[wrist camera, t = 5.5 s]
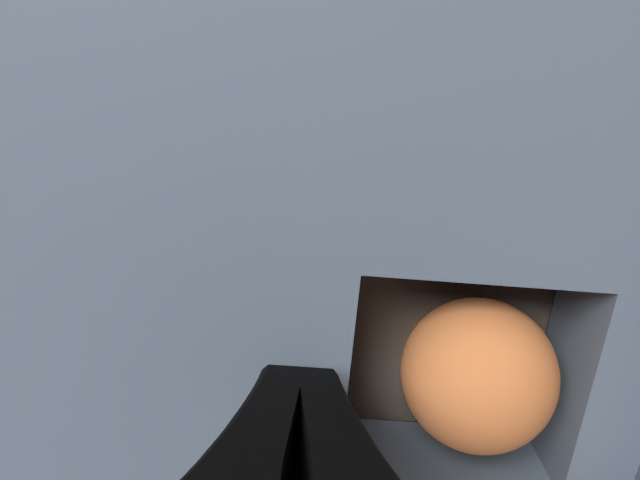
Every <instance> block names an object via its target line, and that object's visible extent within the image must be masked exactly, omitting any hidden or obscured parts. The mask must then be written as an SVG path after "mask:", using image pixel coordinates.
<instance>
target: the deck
mask: <svg viewBox="0 0 640 480" xmlns="http://www.w3.org/2000/svg"><path fill="white" fill-rule="evenodd" d="M361 276H373V277H387V278H401V279H415V280H429V281H442V282H456V283H470V284H484V285H498V286H511V287H525V288H539V289H553V290H556V293H555V297H554V302H553V306H552V310H551V314H550V318H549V322H548V327H547V331H546V336H547V337H548V339H549V341H550V342H551V344H552V346H553V348H554V351H555V354H556V357H557V360H558V364H559V368H560V377H561V384H560V395H559V399H558V403H557V406H556V409H555V411H554V413H553V415H552V417H551V419H550V421H549V422H548V424H547V425H546V426H545V428H544V429H543V430H542V431H541V432H540V433H539V434H538V435H537V436H536V437H535V438H534V439H533V440H532V441H530V442H529V443H527V444H526V445H524V446H522V447H520V448H518V449H516V450H513V451H510V452H507V453H504V454H498V455H473V454H467V453H464V452H460V451H457V450H455V449H453V448H450V447H448V446H446V445H444V444H443V443H441V442H439V441H438V440H436V439H435V438H434V437H433V436H431V435H430V434H429V433H428V432H427V431H426V430H425V429H424V428H423V427H422V426H421V425H420V424H419V423H418V422H405V421H390V420H374V419H360V420H361V422H362V423H363V425H364V426H365V428H366V430H367V431H368V433H369V435H370V436H371V438H372V439H373V441H374V443H375V444H376V446H377V447H378V449H379V450H380V452H381V453H382V455H383V456H384V458H385V459H386V460H387V462H388V463H389V464H390V466H391V467H392V469H393V470H394V471H395V473H396V474H397V475H398V477H399V478H400V479H401V480H640V0H0V480H180V479H181V478H182V477H183V476H184V475H185V474H186V473H187V472H188V471H189V470H190V469H191V467H192V466H193V465H194V464H195V463H196V462H197V461H198V460H199V459H200V458H201V456H202V455H203V454H204V453H205V452H206V450H207V449H208V448H209V447H210V446H211V445H212V443H213V442H214V441H215V440H216V439H217V437H218V436H219V435H220V434H221V433H222V431H223V430H224V429H225V427H226V426H227V425H228V423H229V422H230V421H231V419H232V418H233V416H234V415H235V414H236V412H237V411H238V410H239V408H240V407H241V405H242V404H243V402H244V401H245V399H246V398H247V396H248V395H249V393H250V392H251V390H252V388H253V387H254V385H255V383H256V381H257V379H258V377H259V375H260V373H261V371H262V369H263V368H264V367H266V366H267V365H268V364H270V365H285V366H300V367H315V368H330V369H334V370H335V372H336V373H337V374H338V376H339V378H340V381H341V383H342V385H343V388H344V390H345V392H346V394H348V385H349V376H350V367H351V359H352V350H353V341H354V332H355V324H356V315H357V306H358V297H359V289H360V280H361Z"/></svg>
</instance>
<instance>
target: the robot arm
mask: <svg viewBox="0 0 640 480" xmlns="http://www.w3.org/2000/svg"><path fill="white" fill-rule="evenodd" d="M180 480H401V479H400V478H399V477H398V475H397V474H396V473H395V471H394V470H393V469H392V467H391V466H390V464H389V463H388V462H387V460H386V459H385V458H384V456H383V455H382V453H381V452H380V450H379V449H378V447H377V446H376V444H375V443H374V441H373V439H372V438H371V436H370V435H369V433H368V431H367V430H366V428H365V426H364V425H363V423H362V422H361V420H360V418H359V416H358V415H357V413H356V411H355V409H354V407H353V406H352V404H351V402H350V400H349V398H348V396H347V394H346V392H345V390H344V388H343V385H342V383H341V381H340V378H339V376H338V374H337V373H336V372H335V370H334V369H330V368H315V367H300V366H285V365H270V364H268V365H267V366H266V367H264V368H263V369H262V371H261V373H260V375H259V377H258V379H257V381H256V383H255V385H254V387H253V388H252V390H251V392H250V393H249V395H248V396H247V398H246V399H245V401H244V402H243V404H242V405H241V407H240V408H239V410H238V411H237V412H236V414H235V415H234V416H233V418H232V419H231V421H230V422H229V423H228V425H227V426H226V427H225V429H224V430H223V431H222V433H221V434H220V435H219V436H218V437H217V439H216V440H215V441H214V442H213V443H212V445H211V446H210V447H209V448H208V449H207V450H206V452H205V453H204V454H203V455H202V456H201V458H200V459H199V460H198V461H197V462H196V463H195V464H194V465H193V466H192V467H191V469H190V470H189V471H188V472H187V473H186V474H185V475H184V476H183V477H182V478H181V479H180Z"/></svg>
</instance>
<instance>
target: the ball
mask: <svg viewBox="0 0 640 480" xmlns="http://www.w3.org/2000/svg"><path fill="white" fill-rule="evenodd" d="M400 376H401V384H402V389H403V393H404V397H405V400H406V402H407V404H408V406H409V408H410V410H411V412H412V414H413V415H414V417H415V418H416V420H417V421H418V423H419V424H420V425H421V426H422V427H423V428H424V429H425V430H426V431H427V432H428V433H429V434H430V435H431V436H433V437H434V438H435V439H436V440H438V441H439V442H441V443H443V444H444V445H446V446H448V447H450V448H453V449H455V450H457V451H460V452H464V453H467V454H473V455H498V454H504V453H507V452H510V451H513V450H516V449H518V448H520V447H522V446H524V445H526V444H527V443H529V442H530V441H532V440H533V439H534V438H535V437H536V436H537V435H538V434H539V433H540V432H541V431H542V430H543V429H544V428H545V426H546V425H547V424H548V422H549V421H550V419H551V417H552V415H553V413H554V411H555V409H556V406H557V403H558V399H559V395H560V384H561V377H560V368H559V364H558V360H557V357H556V354H555V351H554V348H553V346H552V344H551V342H550V341H549V339H548V337H547V336H546V334H545V333H544V332H543V330H542V329H541V328H540V327H539V325H538V324H537V323H536V322H535V321H533V320H532V319H531V318H530V317H529V316H528V315H526V314H525V313H524V312H522V311H521V310H519V309H517V308H516V307H514V306H511V305H509V304H507V303H504V302H501V301H498V300H495V299H490V298H481V297H469V298H461V299H457V300H453V301H450V302H447V303H445V304H442V305H440V306H438V307H437V308H435V309H433V310H432V311H431V312H429V313H428V314H427V315H425V316H424V317H423V318H422V319H421V320H420V321H419V322H418V324H417V325H416V326H415V328H414V329H413V330H412V332H411V334H410V336H409V337H408V339H407V341H406V344H405V347H404V350H403V354H402V359H401V370H400Z"/></svg>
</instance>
